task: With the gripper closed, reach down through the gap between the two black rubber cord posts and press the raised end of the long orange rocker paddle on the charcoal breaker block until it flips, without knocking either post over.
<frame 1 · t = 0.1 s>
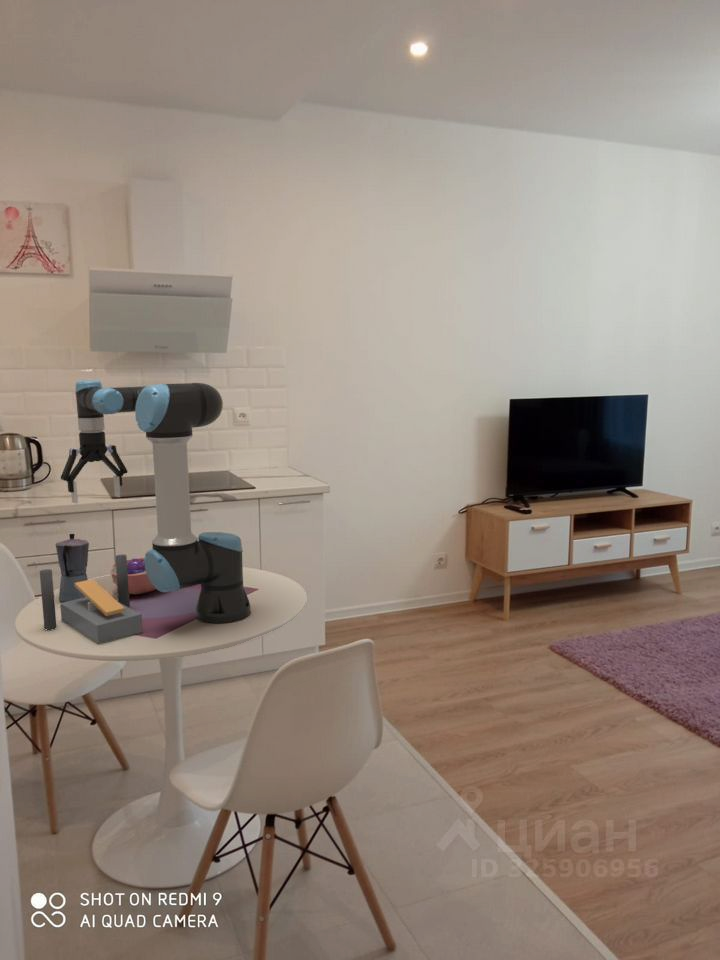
hand: (96, 499, 233), 28 cm above the table, fingers open, 13 cm apart
cell model: (140, 591, 232), on the table
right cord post: (124, 609, 215), on the table
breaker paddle: (98, 596, 201), point 8 cm above the table, hinge at -10.0°
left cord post: (50, 628, 201), on the table
moka pot: (75, 600, 225), on the table
breaker block: (101, 626, 202), on the table
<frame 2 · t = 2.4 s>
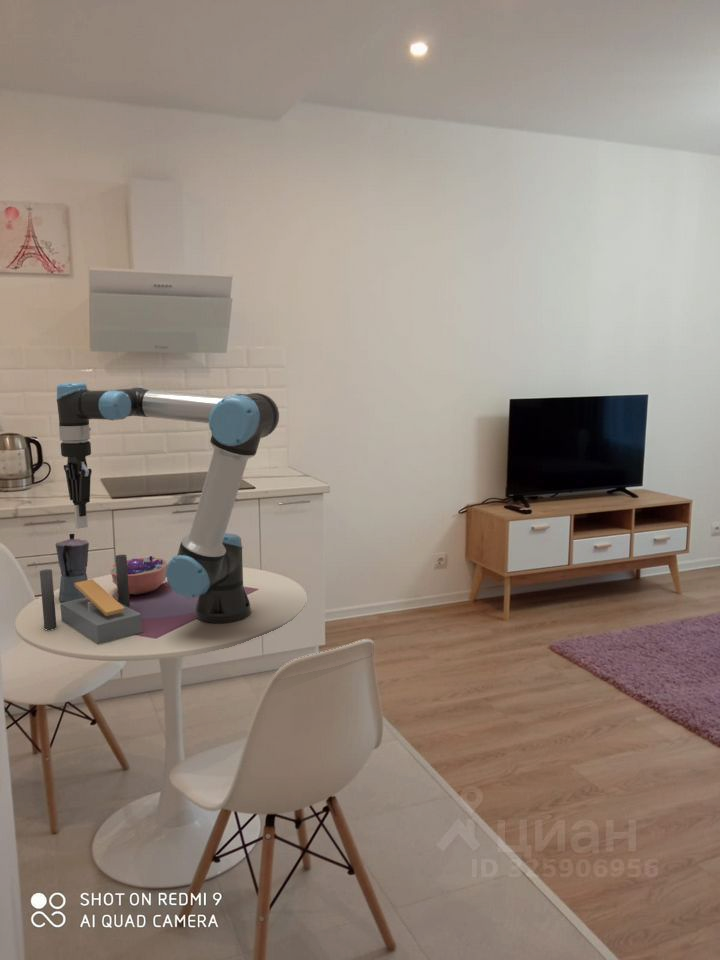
hand: (81, 527, 204), 26 cm above the table, fingers closed
nothing on the table moved.
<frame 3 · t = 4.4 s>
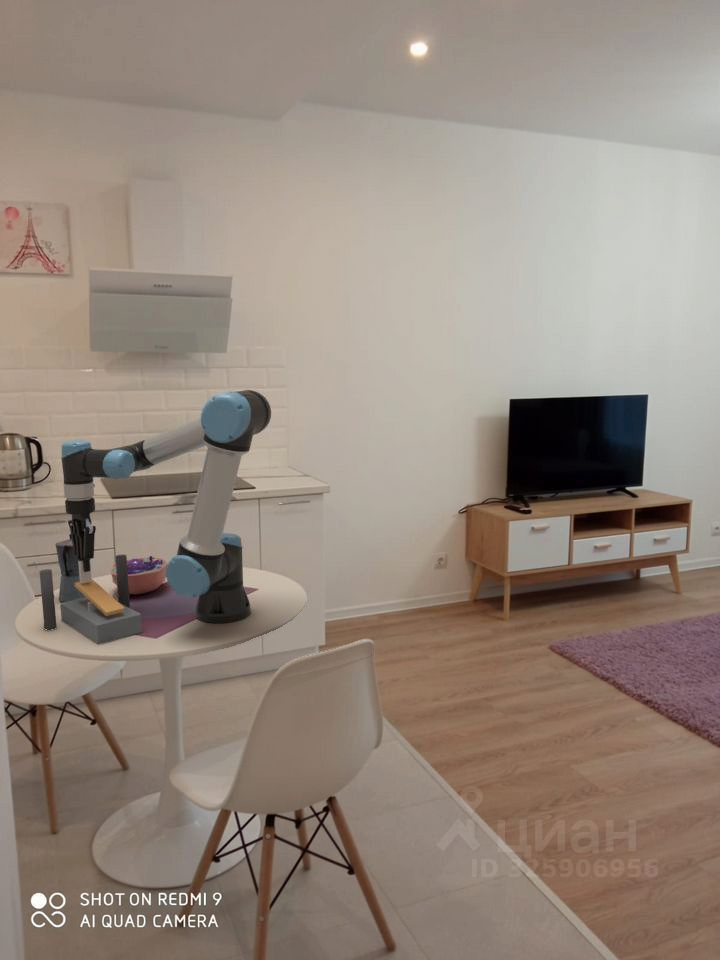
hand: (85, 582, 206), 11 cm above the table, fingers closed
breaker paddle: (98, 596, 201), point 8 cm above the table, hinge at -10.0°, touching gripper
everything else where it was.
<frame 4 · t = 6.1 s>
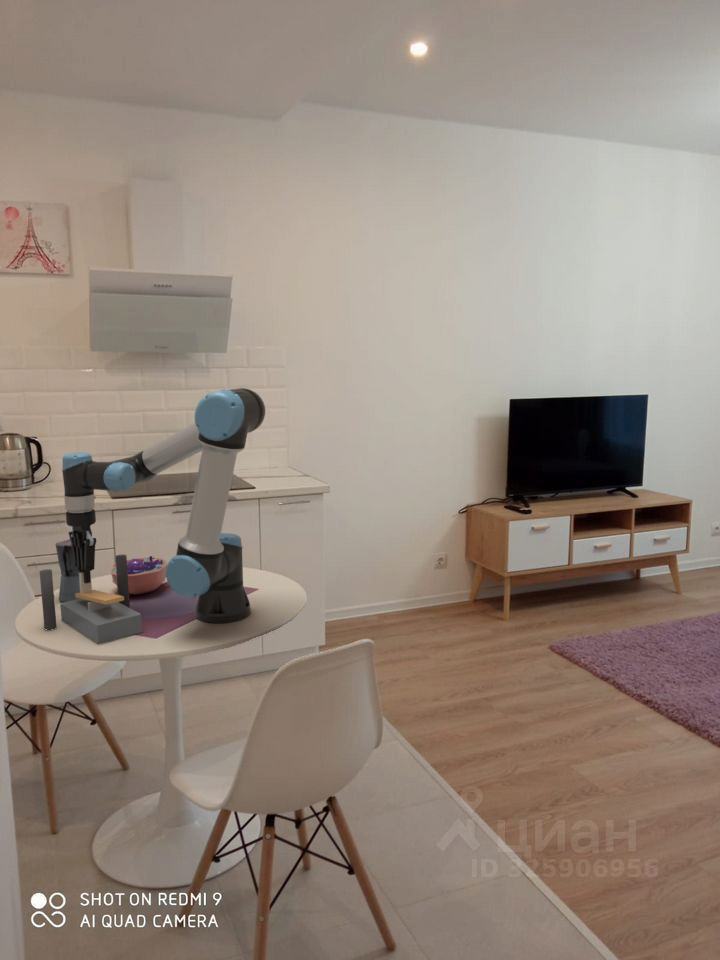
hand: (86, 593, 207), 7 cm above the table, fingers closed
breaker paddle: (98, 596, 201), point 8 cm above the table, hinge at 7.9°, touching gripper
everything else where it was.
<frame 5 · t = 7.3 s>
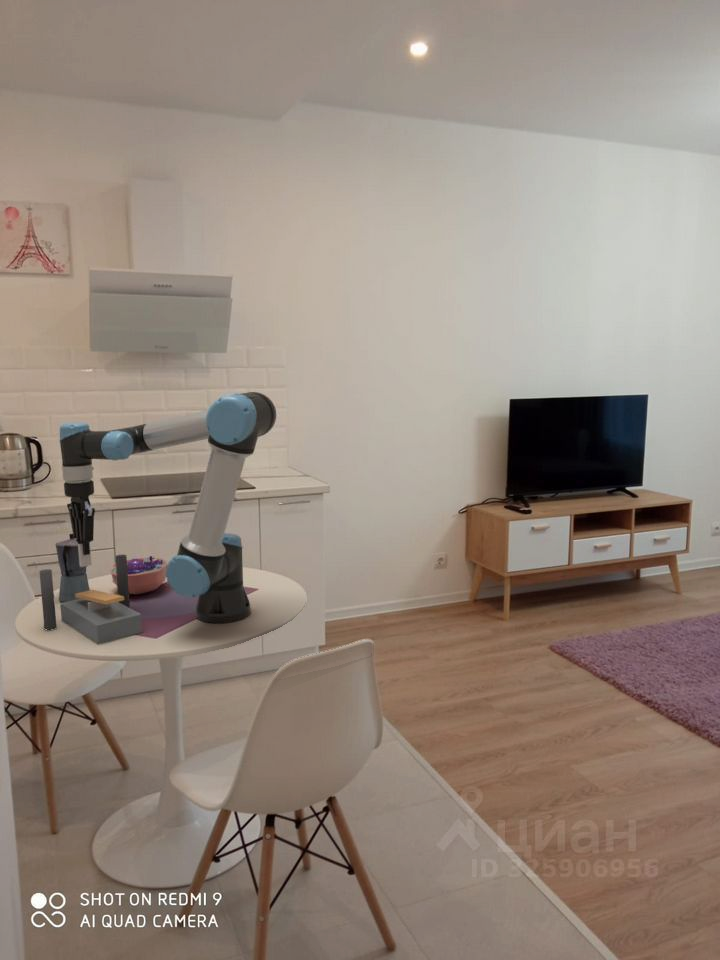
hand: (85, 565, 205), 15 cm above the table, fingers closed
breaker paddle: (98, 596, 201), point 8 cm above the table, hinge at 8.0°
everything else where it was.
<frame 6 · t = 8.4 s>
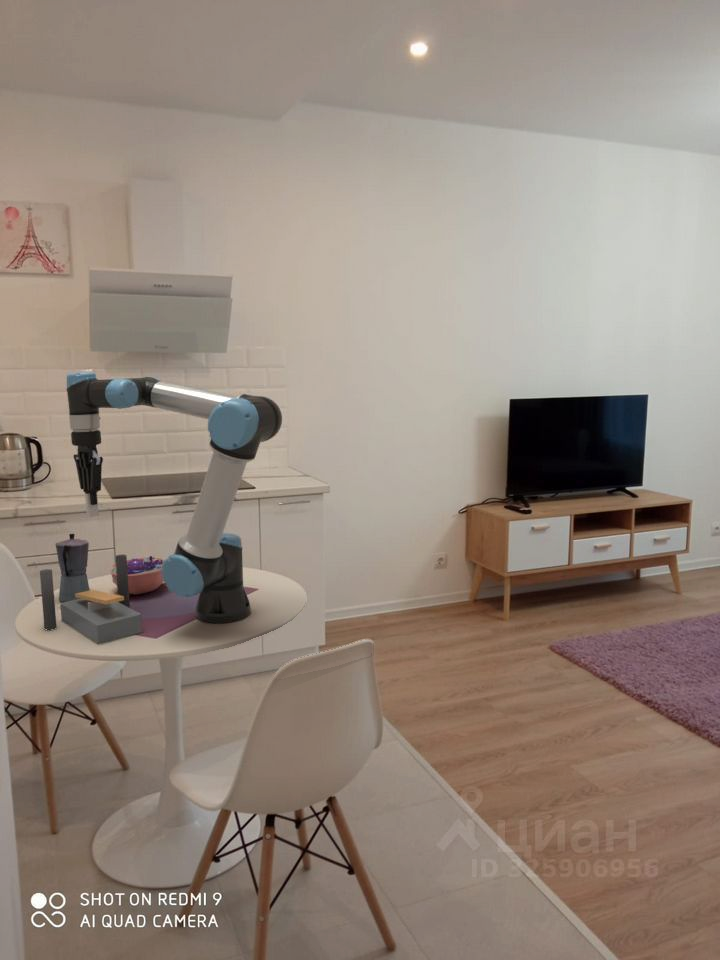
hand: (92, 515, 205), 29 cm above the table, fingers closed
nothing on the table moved.
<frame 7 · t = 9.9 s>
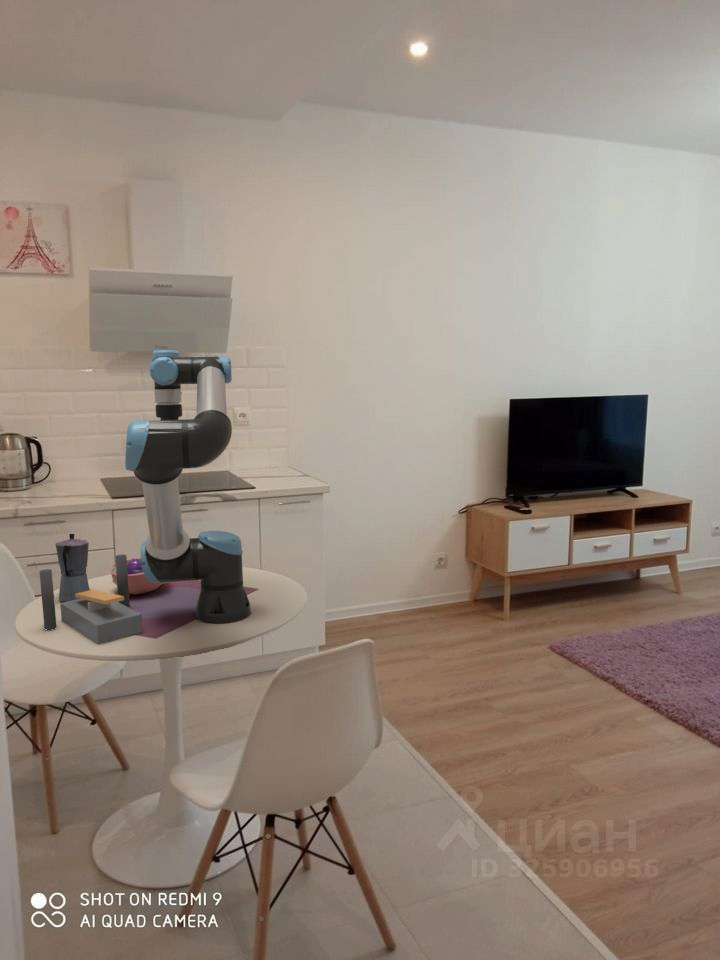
hand: (172, 483, 223), 34 cm above the table, fingers closed
nothing on the table moved.
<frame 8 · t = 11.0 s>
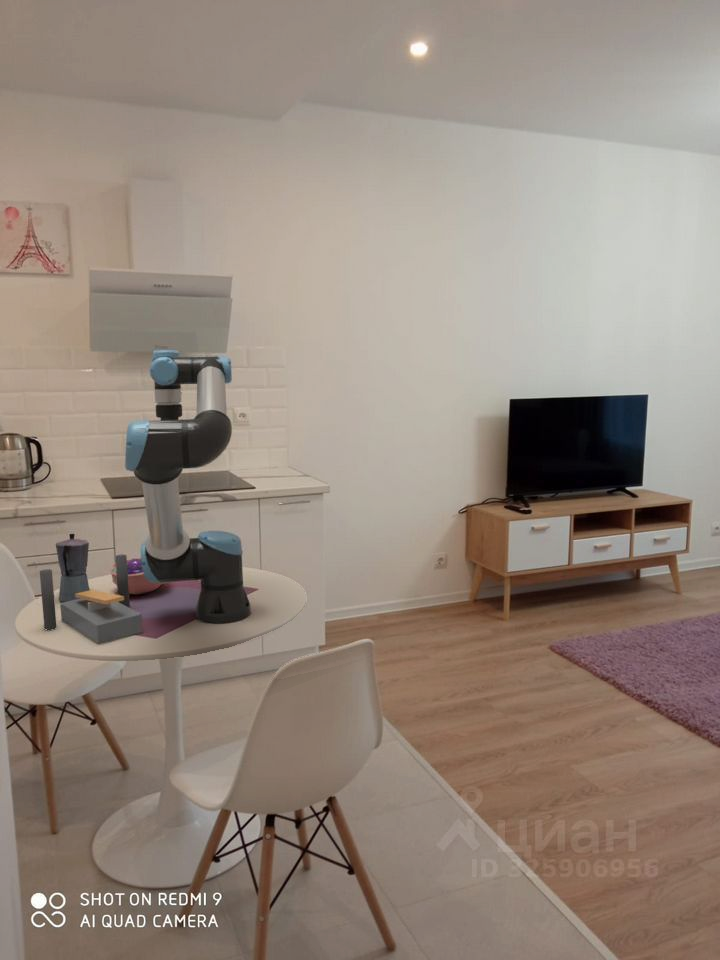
hand: (172, 483, 223), 34 cm above the table, fingers closed
nothing on the table moved.
at the end: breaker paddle at +8° (first picture: -10°); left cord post tilted 0°; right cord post tilted 0° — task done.
